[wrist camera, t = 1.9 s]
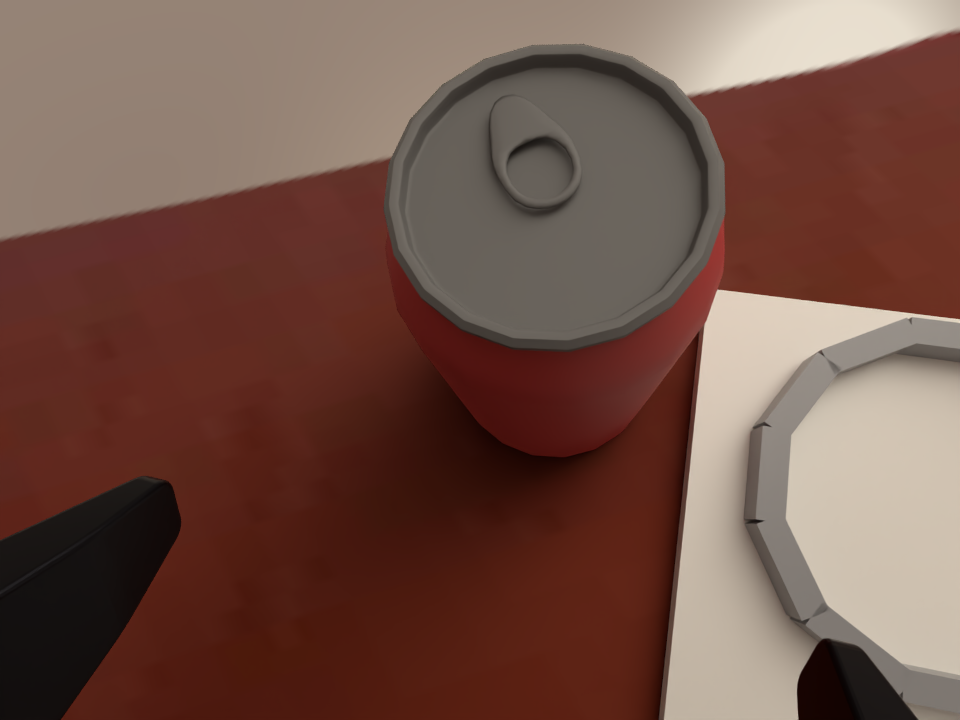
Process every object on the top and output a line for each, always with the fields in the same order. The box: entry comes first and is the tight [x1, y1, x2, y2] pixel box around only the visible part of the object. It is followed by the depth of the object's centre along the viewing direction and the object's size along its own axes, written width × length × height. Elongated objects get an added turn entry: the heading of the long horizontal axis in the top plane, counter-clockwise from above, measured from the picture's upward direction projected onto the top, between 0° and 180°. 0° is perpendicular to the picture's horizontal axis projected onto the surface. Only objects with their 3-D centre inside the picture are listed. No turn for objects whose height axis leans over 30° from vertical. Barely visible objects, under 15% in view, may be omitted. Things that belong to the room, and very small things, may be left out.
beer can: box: [384, 44, 725, 457], centre depth 16 cm, size 7×7×12 cm
